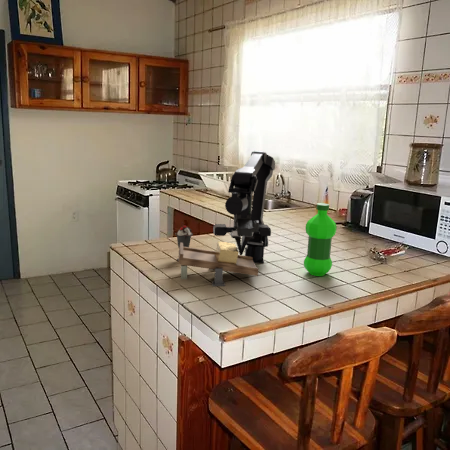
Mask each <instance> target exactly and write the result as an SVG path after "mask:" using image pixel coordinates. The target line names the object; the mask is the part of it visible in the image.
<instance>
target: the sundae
mask: <svg viewBox="0 0 450 450" xmlns="http://www.w3.org/2000/svg"><path fill="white" fill-rule="evenodd" d="M174 234H175V236H176V239H177V240H176V241H177V246H178V249H179V247H180V242H181V243H183V247H189V248H190V243H191V238H192V237H193V235H194V233H193V232H192V229H191V228H190V227H188V226H187V225H184V222H183V221H182V222H181V226H180V228H179V229H178V231H177V232H175V233H174ZM176 260H177V261H178V262H179V257H178V258H176Z"/></svg>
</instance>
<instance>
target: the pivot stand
mask: <svg viewBox="0 0 450 450" xmlns="http://www.w3.org/2000/svg"><path fill="white" fill-rule="evenodd" d="M208 270H209V271H214V280H211V285H212V287H226V282H225V280H223V277H224V276H223V275H224V273H223V272H224V271H223V268H215V270H214V269H208ZM180 279H181V280H188V266H186V265H180Z"/></svg>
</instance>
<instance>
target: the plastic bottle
mask: <svg viewBox="0 0 450 450" xmlns="http://www.w3.org/2000/svg"><path fill="white" fill-rule="evenodd" d="M315 209H316V210H317V213H316V214H315V215H314V216H312V217H311V218H310V219H309V220H307V222H306V224H305V233H306V234H307V236H308V240H307V241H308V242H307V243H308V244H307V252H306V253H307V255H306V257H305V258H304V260H303V266H304V268H305V270H306V271H307V272H308V273H309V275H311V276H314V277H324V276H325V275H326V274H328V273H329V272H330V270H331V269H332V267H333V261H332V258H331V250H332V242H333V241H332V239H333V237H334V236H335V235H336V233H337V230H338V229H337V227H338V226H337V223H336V222H335V221H334V220H333V218H331V216H329V215H328V211H329V210H330V204H329V203H324V202H318V203H316V208H315Z"/></svg>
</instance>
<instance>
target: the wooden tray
mask: <svg viewBox="0 0 450 450" xmlns="http://www.w3.org/2000/svg"><path fill="white" fill-rule="evenodd" d="M215 253H216V250H215V251H214V250H209V249H208V250H207V249H204V248H203V249H202V248H195V247H190V246H189V247H183V243H181V242H180V247H179V248H178V258H179V261H178V265H180V266H181V265H186V266H187V267H194V268H201V269H208V270H209V269H214V270H213V271H215V268H223V272H230V273H236V274H243V275H250V276H257V277H258V275H259V270H260V269H259V267H257V266H256V264H255V263H254V262H253V257H249V256H245V255H243V254H242V255H240V254H238V258H237V263H236V265H235V264H229V263H222V262H217V259H216V256H215Z"/></svg>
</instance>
